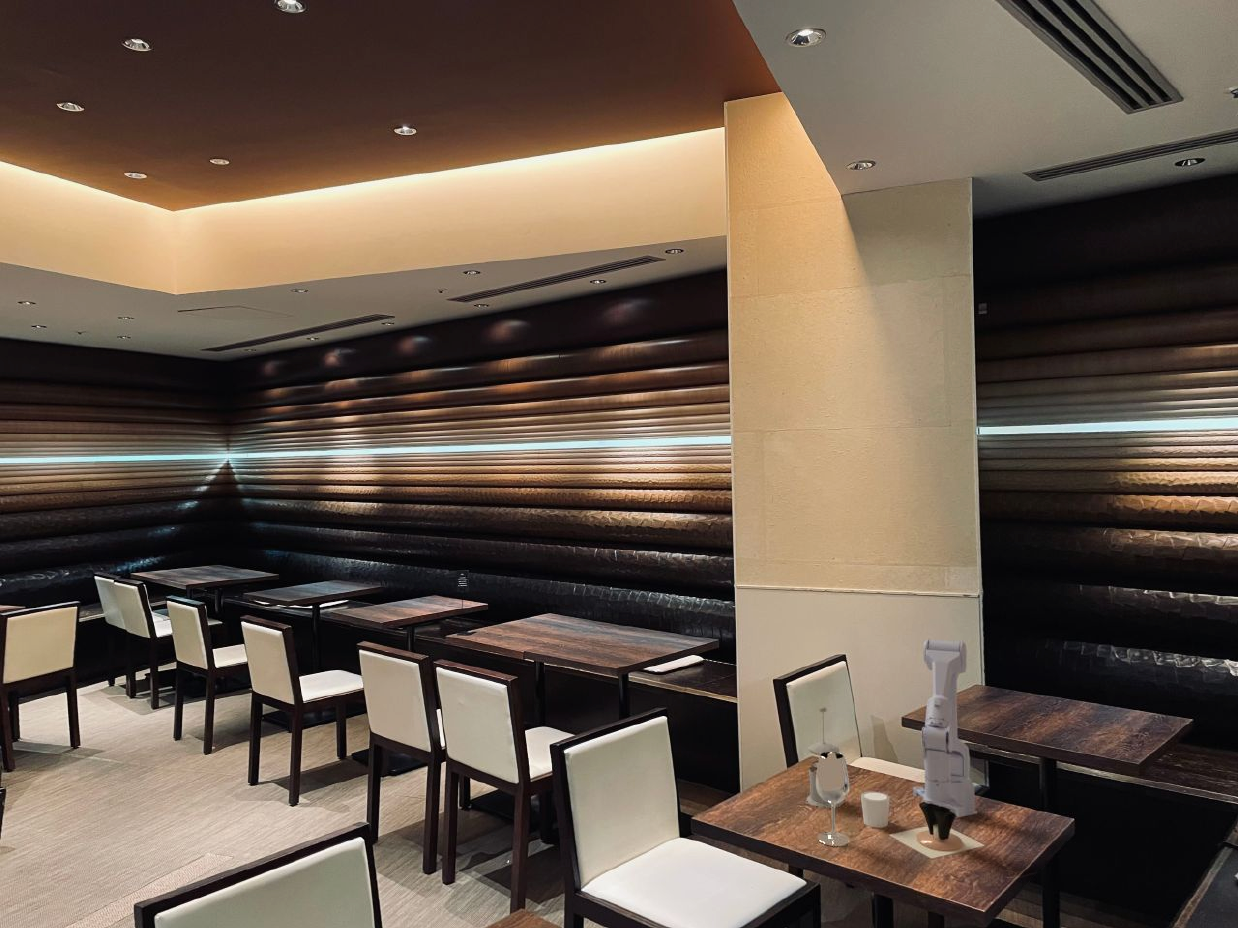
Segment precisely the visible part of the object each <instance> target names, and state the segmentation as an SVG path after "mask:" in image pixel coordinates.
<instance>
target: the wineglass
mask: <svg viewBox="0 0 1238 928" xmlns="http://www.w3.org/2000/svg"><path fill="white" fill-rule="evenodd" d="M844 758H845V755H844V754H842V753H840V752H839V753H838V752H823V753H821V754H820V755H819V758H818V760H819V762H818V767H817V770H816V772H817V773H816V772H815V773H816V789H817V792H818V794H819V796H820V797H821V798H822V799H823V800H824V801H826V802H827V803H829V804H830V805H831V808H830V809H831V831H826V832H821V833H819V834H818V835H817V840H818V841H819V842H820V843H822V844H823V845H826V846H829V847H844V846H847V845H848V843H850V841H851V839H850V837H849V836H848V835H846V834H844V833H841V832H836V831H837V830H836V817H835V816H836V815H835V814H836V811H835V810H836V807H835V806H836V804H838V803H840V802H842V801H843V802H844V801H845V800H846V798H847V797H848V796H849V792H850V779H849V777H850V776H849V772H848V767H847V762H846V763H845V760H846V758H845V759H844Z"/></svg>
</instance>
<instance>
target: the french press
mask: <svg viewBox="0 0 1238 928" xmlns="http://www.w3.org/2000/svg"><path fill="white" fill-rule="evenodd" d="M818 711H819V712H822V713H825V712H827V707H826V706H821V707H819V709H818ZM824 717H825V716H824V715H822V740H823V741H822V742H815V743H813V744H811V745H809V747H807V748H808V751H809V752H810V753H811V754H814V755H817V756H820V754H821V753H823V752H838V753H840V748H839V747H837V746H836V745H833V744H832V743H829V742H826V741H825V728H824V727H825V723H824V720H825V719H824ZM844 759H845V763H846V764H847V761H846V758H845V757H844ZM818 762H819V759H816V760H813V761H811V762H810V767H809V795H808V796H807V797H806V799H807V800H806V802H807V801H808V802H807V803H808V804H809V803H810V804H809V805H811V804H812V805H811V806H813V805H815V806H814V807H816V806H818V808H823V807H825V808H823V809H831V805H830V804H829V803H827V802H826V801H824V800H823V799H822V798H821V797H820V796H819V794H818V792H817V789H816V773H817V767H818ZM815 771H816V772H815ZM843 802H844V800H843V801H842V802H840V803H838V804H836V806H835V808H838V806H839V807H841V806H840V805H841V804H843ZM843 805H844V804H843Z"/></svg>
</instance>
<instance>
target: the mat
mask: <svg viewBox="0 0 1238 928" xmlns="http://www.w3.org/2000/svg"><path fill="white" fill-rule="evenodd" d="M928 830H929V828H928V825H927V826H923V827H918V828H914V829H909V830H904V831H900V832H895V833H891V834H888V836H890V837H891V838H892V839H894V840H897V841H899V842H900V843H902V844H904V845H906V846H907V847H910V848H911V849H913V850H915V851H917V852H919V853H920V854H921V855H924V856H925V857H927V858H929V859H931V860H932V859H936V858H940V857H945V856H949V855H953V854H957V853H961V852H964V851H968V850H969V851H970V850H974V849H977V848H982V847H986V845H985V844H984V843H981V842H979V841H977V840H975V839H973V838H971V837H969V836H967V835H964V834H963V833H961V832H959V831H956V830H955V829H953V828H951V829H950V833H951V834H954V835H956V836H958V837H959V838H960V839H961V840H962V847H961V848H960V849H958V850H953V851H939V850H934V849H930V848H927V847H925V846H923V845H921V844H920V843H918V841H917V834H918V833H920V832H922V831H928Z"/></svg>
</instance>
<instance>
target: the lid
mask: <svg viewBox="0 0 1238 928" xmlns="http://www.w3.org/2000/svg"><path fill="white" fill-rule="evenodd" d="M917 841H918V843H920V844H921V845H923V846H925V847H927V848H930V849H934V850H939V851H953V850H958V849H960V848H961V847H962V840H961V839H960V838H959V837H958V836H956V835H954V834H951V833H949V838H948V839H945V840H940V838H939V833H938V824H934V825H933V835H931V834H930V832H929V830H928V831H922V832H920V833H918V834H917Z"/></svg>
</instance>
